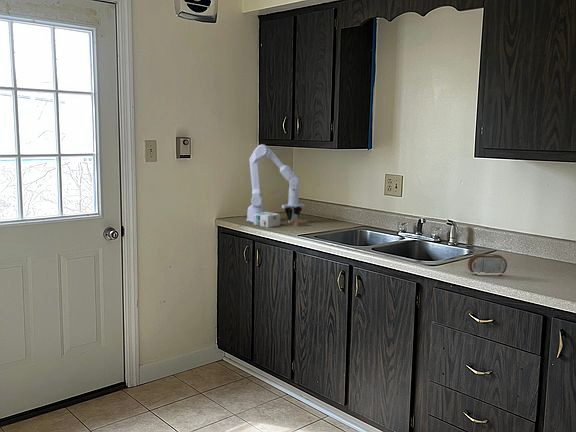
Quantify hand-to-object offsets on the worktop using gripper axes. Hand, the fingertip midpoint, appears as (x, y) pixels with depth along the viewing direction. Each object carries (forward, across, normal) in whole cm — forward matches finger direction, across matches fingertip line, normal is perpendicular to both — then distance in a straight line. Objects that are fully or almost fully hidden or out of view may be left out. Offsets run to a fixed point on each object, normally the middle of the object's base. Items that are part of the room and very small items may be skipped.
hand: (292, 220), depth 346 cm
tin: (+2, -2, -134) cm, 134 cm away
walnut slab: (+2, -2, -8) cm, 8 cm away
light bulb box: (-2, -17, -7) cm, 19 cm away
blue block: (+1, 0, 0) cm, 1 cm away
